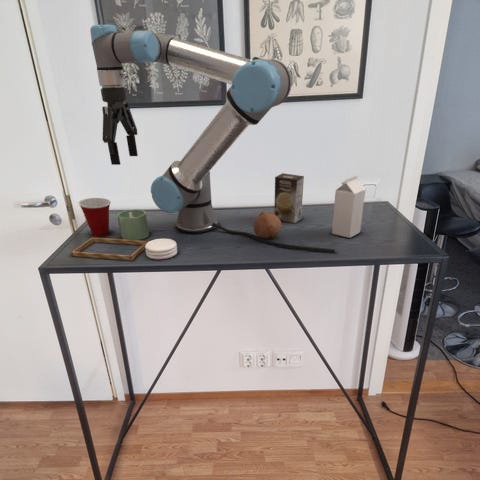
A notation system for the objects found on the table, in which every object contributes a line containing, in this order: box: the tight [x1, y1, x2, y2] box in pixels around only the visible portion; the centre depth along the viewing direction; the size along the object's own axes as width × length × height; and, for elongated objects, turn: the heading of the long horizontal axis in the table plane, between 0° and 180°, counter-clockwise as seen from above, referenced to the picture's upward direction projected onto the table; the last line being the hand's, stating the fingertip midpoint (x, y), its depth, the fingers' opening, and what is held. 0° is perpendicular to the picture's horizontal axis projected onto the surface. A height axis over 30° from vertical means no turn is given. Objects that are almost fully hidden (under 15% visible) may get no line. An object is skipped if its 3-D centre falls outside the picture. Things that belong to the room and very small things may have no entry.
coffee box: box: [273, 172, 305, 224], centre depth 157 cm, size 9×6×16 cm
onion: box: [253, 211, 283, 241], centre depth 142 cm, size 10×9×10 cm
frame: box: [70, 237, 149, 261], centre depth 139 cm, size 21×13×1 cm, turn 76°
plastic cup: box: [78, 197, 112, 238], centre depth 150 cm, size 11×11×12 cm
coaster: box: [144, 238, 178, 261], centre depth 135 cm, size 10×10×4 cm
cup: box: [117, 209, 150, 241], centre depth 148 cm, size 10×10×8 cm
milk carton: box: [331, 174, 366, 239], centre depth 141 cm, size 7×7×19 cm
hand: (125, 160), depth 139 cm, fingers open, 13 cm apart
